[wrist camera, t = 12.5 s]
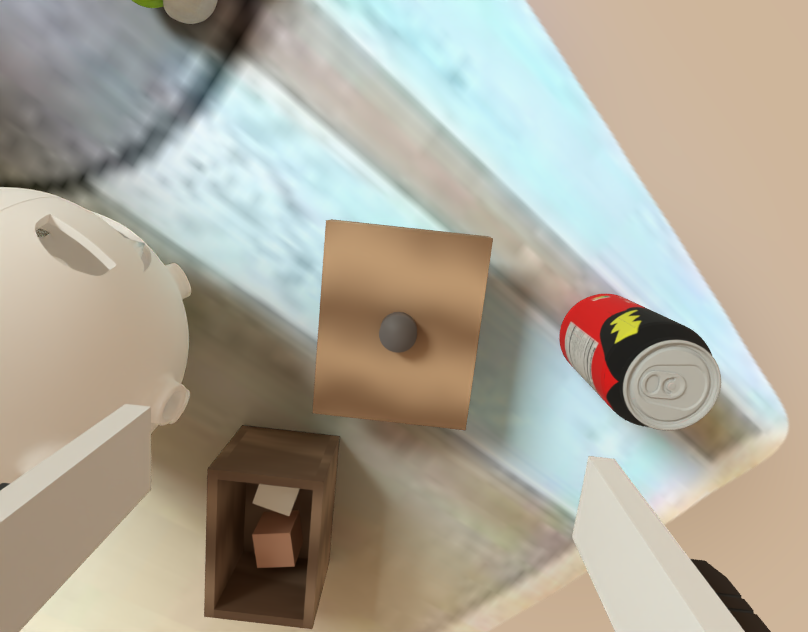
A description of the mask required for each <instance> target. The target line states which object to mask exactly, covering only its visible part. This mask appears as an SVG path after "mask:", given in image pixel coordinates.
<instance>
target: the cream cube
mask: <svg viewBox="0 0 808 632" xmlns="http://www.w3.org/2000/svg"><path fill="white" fill-rule="evenodd" d="M299 491H300V489H299V488H290V487H281V486H272V485H263V484H259V486H258V489H257V491H256V494H255V497H254V500H253V504H256V505H258V506H261V507H264V508H267V509H270V510H272V511H275V512H278V513H281V514H284V515H286V516H290V513H291V511H292V509H293V506H294V504H295V501H296V499H297V497H298V494H299Z"/></svg>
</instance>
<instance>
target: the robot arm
mask: <svg viewBox="0 0 808 632" xmlns="http://www.w3.org/2000/svg"><path fill="white" fill-rule="evenodd" d="M150 490H151V407H148V406H140V405H131V404H125V405H123V406H122V407H120V408H119V409H117V410H116V411H115V412H113V413H112V414H110V415H109V416H107V417H106V418H104V419H103V420H102V421H100V422H99V423H97V424H96V425H94V426H93V427H91V428H90V429H89V430H87V431H86V432H84V433H83V434H81V435H80V436H78V437H77V438H76V439H74V440H73V441H71V442H70V443H68V444H67V445H65V446H64V447H63V448H61V449H60V450H58V451H57V452H55V453H54V454H52V455H51V456H50V457H48V458H47V459H45V460H44V461H42V462H41V463H39V464H38V465H37V466H35V467H34V468H32V469H31V470H29V471H28V472H26V473H25V474H24V475H22V476H21V477H19V478H18V479H16V480H15V481H13V482H12V483H1V484H0V632H19V631H20V630H21V629H22V628H23V627H24V626H25V625H26V624H27V623H28V622H29V620H30V619H31V618H32V617H33V616H34V615H35V614H36V613H37V612H38V611H39V610H40V609H41V608H42V606H43V605H44V604H45V603H46V602H47V601H48V600H49V599H50V598H51V597H52V596H53V595H54V594H55V592H56V591H57V590H58V589H59V588H60V587H61V586H62V585H63V584H64V583H65V582H66V581H67V580H68V578H69V577H70V576H71V575H72V574H73V573H74V572H75V571H76V570H77V569H78V568H79V567H80V566H81V564H82V563H83V562H84V561H85V560H86V559H87V558H88V557H89V556H90V555H91V554H92V553H93V552H94V550H95V549H96V548H97V547H98V546H99V545H100V544H101V543H102V542H103V541H104V540H105V539H106V538H107V536H108V535H109V534H110V533H111V532H112V531H113V530H114V529H115V528H116V527H117V526H118V525H119V524H120V522H121V521H122V520H123V519H124V518H125V517H126V516H127V515H128V514H129V513H130V512H131V511H132V510H133V508H134V507H135V506H136V505H137V504H138V503H139V502H140V501H141V500H142V499H143V498H144V497H145V496H146V494H147V493H148V492H149V491H150ZM572 538H573V540H574V542H575V545H576V547H577V549H578V551H579V553H580V556H581V558H582V560H583V562H584V564H585V567H586V569H587V571H588V573H589V575H590V578H591V580H592V582H593V584H594V586H595V589H596V591H597V593H598V595H599V597H600V600H601V602H602V604H603V606H604V609H605V610H606V613H607V615H608V617H609V619H610V622H611V624H612V626H613V628H614V631H615V632H771V631H770V630H769V629H768V628H767V626H766V625H765V624H764V623H763V622H762V621H761V619H760V618H759V617H758V616H757V615H756V614H754V613H753V610H752V608H751V607H750V606H749V604H748V603H747V602H746V601H745V600H744V599H742V598H741V595H740V593H739V592H738V591H737V590H736V588H735V587H734V586H733V585H732V584H731V582H730V581H729V580H728V579H727V578H726V577H725V576H724V575H723V574H721V573H720V572H719V571H718V570H716V569H715V568H713V567H712V566H711V565H710V564H708V563H707V562H706V561H702V560H694V559H690V558H689V557H688V556H687V555H686V553H685V552H684V550H683V549H682V548H681V547H680V545H679V544H678V543H677V541H676V540H675V539H674V537H673V536H672V535H671V533H670V532H669V531H668V529H667V528H666V527H665V525H664V524H663V523H662V521H661V520H660V519H659V517H658V516H657V515H656V513H655V512H654V511H653V509H652V508H651V507H650V505H649V504H648V503H647V501H646V500H645V499H644V498H643V496H642V495H641V494H640V492H639V491H638V490H637V488H636V487H635V486H634V484H633V483H632V482H631V480H630V479H629V478H628V476H627V475H626V474H625V472H624V471H623V470H622V468H621V467H620V466H619V464H618V463H617V462H616V460H615V459H610V458H602V457H593V456H589V457H588V462H587V467H586V472H585V477H584V481H583V486H582V491H581V496H580V501H579V506H578V511H577V516H576V520H575V525H574V530H573V535H572Z"/></svg>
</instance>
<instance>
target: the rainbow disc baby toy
mask: <svg viewBox="0 0 808 632" xmlns="http://www.w3.org/2000/svg"><path fill="white" fill-rule="evenodd" d="M132 1H133V2H135V3H137V4H138V5H141V6H144V7H147V8H159V7H163V6H164V9H165V11H166V12H167V14H168V15H169V16H170V17H171V18H173V19H175V20H177V21H179V22H182V23H187V24H195V23H200V22H202V21H204V20H206V19H207V18H208V17H209V16H210V15H211V14H212V13H213V11H214V10H215V8H216V5H217V1H218V0H132Z"/></svg>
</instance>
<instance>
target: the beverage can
mask: <svg viewBox="0 0 808 632" xmlns="http://www.w3.org/2000/svg"><path fill="white" fill-rule="evenodd" d="M560 346H561V350H562V352H563V355H564V357H565V358H566V360H567V361H568V362H569V363H570V364H571V366H572V367H573V368H574V369H575V370H576V371H577V372H578V373H579V374H580V375H581V376H582V377H583V378H584V379H585V381H586V382H587V383H588V384H589V385H590V386H591V387H592V388H593V389H594V390H595V391H596V392H597V393H598V394H599V396H600V397H601V398H602V399H603V400H604V401H605V402H606V403H607V404H608V405H609V406H610V407H611V408H612V409H613V411H614V412H616V413H617V414H618V415H619V416H620V417H622V418H623V419H625V420H627V421H629V422H631V423H634V424H637V425H641V426H646V427H651V428H654V429H658V430H677V429H682V428H685V427H688V426H690V425H692V424H694V423H696V422H697V421H699V420H700V419H702V418H703V417H704V416H705V415H706V414H707V413H708V412H709V411H710V410H711V408H712V407H713V406H714V404H715V402H716V400H717V398H718V395H719V392H720V387H721V375H720V370H719V367H718V365H717V363H716V361H715V359H714V358H713V357H712V354H711V352H710V350H709V348H708V346H707V345H706V343H705V342H704V341H703V339H702V338H701V337H700V336H699V335H698V334H697V333H695V332H694V331H693V330H691V329H690V328H688V327H686V326H684V325H681V324H679V323H677V322H675V321H673V320H671V319H668V318H666V317H664V316H662V315H660V314H658V313H656V312H653V311H651V310H649V309H647V308H645V307H643V306H641V305H638V304H636V303H634V302H632V301H630V300H628V299H625V298H623V297H621V296H618V295H614V294H598V295H593V296H590V297H588V298H585V299H583V300H581V301H580V302H578V303H577V304H576V305H575V306H573V307H572V308H571V309H570V311H569V312H568V313H567V315H566V316H565V318H564V320H563V322H562V325H561V329H560Z"/></svg>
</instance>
